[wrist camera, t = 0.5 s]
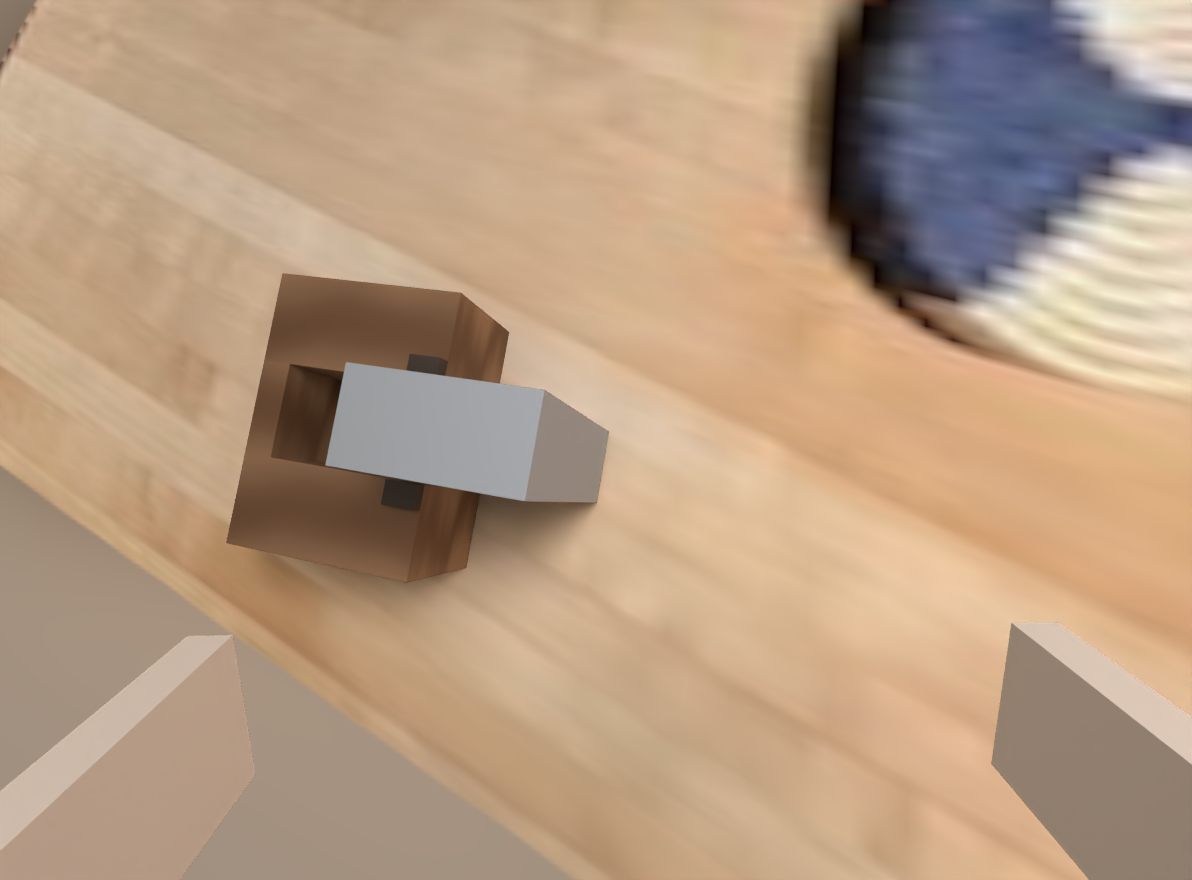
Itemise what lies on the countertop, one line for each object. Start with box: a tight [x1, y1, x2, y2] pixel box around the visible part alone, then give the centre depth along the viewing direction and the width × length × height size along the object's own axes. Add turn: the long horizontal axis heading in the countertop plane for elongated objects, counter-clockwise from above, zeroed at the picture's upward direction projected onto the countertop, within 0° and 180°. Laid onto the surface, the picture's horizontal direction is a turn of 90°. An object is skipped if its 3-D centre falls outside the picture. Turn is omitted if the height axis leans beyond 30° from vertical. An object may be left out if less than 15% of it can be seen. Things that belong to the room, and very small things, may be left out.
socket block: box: [226, 274, 509, 582], centre depth 34 cm, size 14×10×8 cm
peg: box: [326, 362, 609, 503], centre depth 29 cm, size 4×8×13 cm, turn 80°
